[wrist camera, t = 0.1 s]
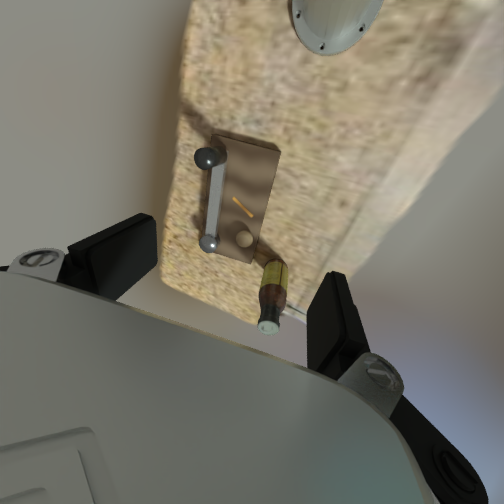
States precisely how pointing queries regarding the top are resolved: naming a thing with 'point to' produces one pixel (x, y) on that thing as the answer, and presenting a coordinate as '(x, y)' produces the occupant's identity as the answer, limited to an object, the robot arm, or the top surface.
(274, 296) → the sauce bottle
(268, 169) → the board
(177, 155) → the top surface
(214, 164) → the lever
